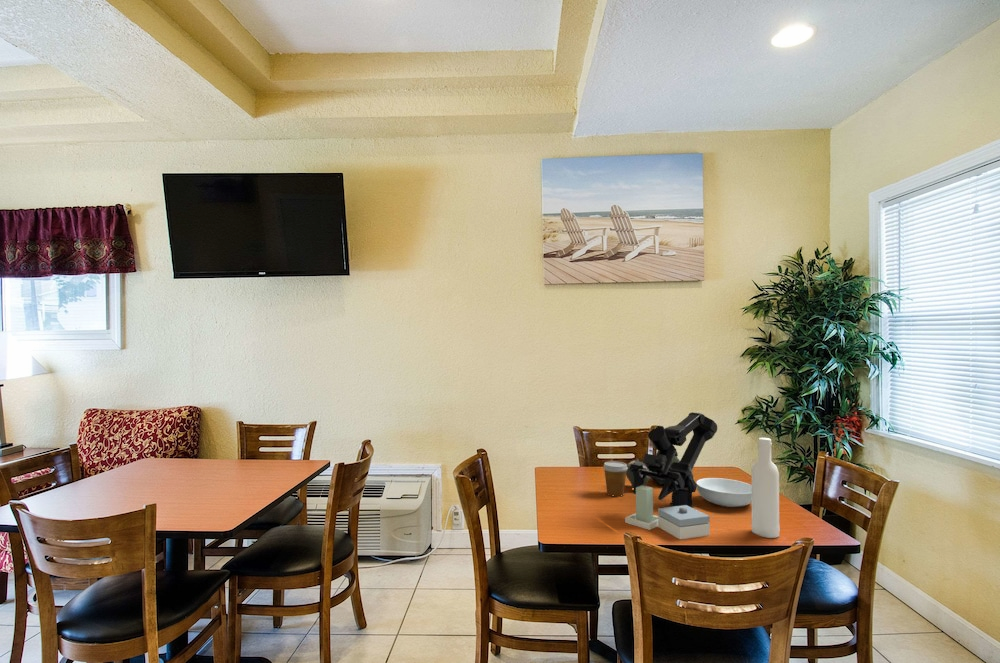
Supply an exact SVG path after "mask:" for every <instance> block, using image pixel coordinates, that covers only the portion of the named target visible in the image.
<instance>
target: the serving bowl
mask: <svg viewBox="0 0 1000 663" xmlns="http://www.w3.org/2000/svg"><path fill="white" fill-rule="evenodd" d="M695 483H696V484H697V487H696V491H697V492H698V494H699V495H700V497H701V498H702V499H704V500H706V501H708V502H709V503H712V504H715V505H717V506H720V507H725V506H726V508H736V507H744V506H747V505H749V504H752V484H750V483H748V482H744V481H741V480H738V479H737V480H736V479H731V478H729V479H728V478H720V477H706V478H700V479H697V480H696V481H695Z"/></svg>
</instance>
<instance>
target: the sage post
mask: <svg viewBox="0 0 1000 663" xmlns="http://www.w3.org/2000/svg"><path fill="white" fill-rule="evenodd" d="M635 513H636V520H639V521H643V522H646V523H650V522H652V521H653V515H654V488H653V487H651V486H647V485H644V486H643V485H642V486H639V487H636V494H635Z"/></svg>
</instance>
